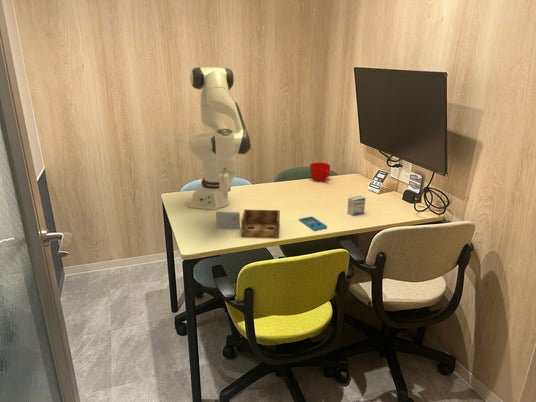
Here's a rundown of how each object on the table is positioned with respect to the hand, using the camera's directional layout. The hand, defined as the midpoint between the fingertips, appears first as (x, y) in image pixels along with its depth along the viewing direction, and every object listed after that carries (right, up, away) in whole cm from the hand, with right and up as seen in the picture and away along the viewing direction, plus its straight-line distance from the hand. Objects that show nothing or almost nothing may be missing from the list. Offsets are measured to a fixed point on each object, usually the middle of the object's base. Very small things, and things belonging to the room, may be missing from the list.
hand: (227, 194), depth 182 cm
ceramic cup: (+54, +10, +75) cm, 93 cm away
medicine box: (+65, -9, +24) cm, 70 cm away
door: (0, -16, +6) cm, 17 cm away
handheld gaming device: (+41, -15, +11) cm, 45 cm away
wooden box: (+16, -17, +4) cm, 23 cm away
